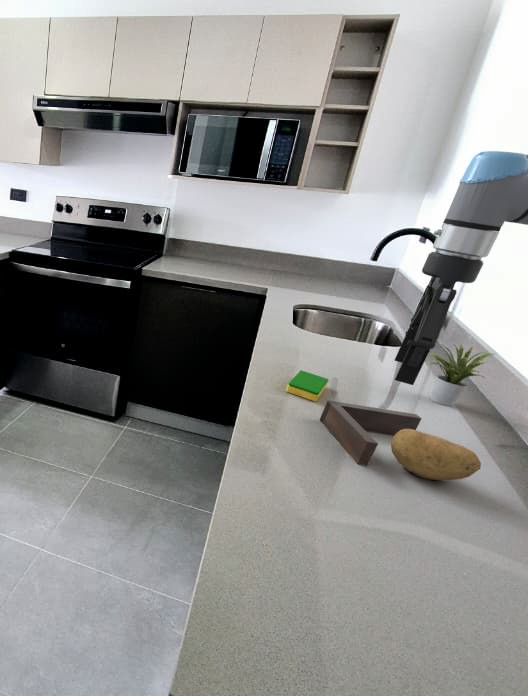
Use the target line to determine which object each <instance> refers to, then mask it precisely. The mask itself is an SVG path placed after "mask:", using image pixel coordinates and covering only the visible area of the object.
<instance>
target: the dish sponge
mask: <svg viewBox="0 0 528 696" xmlns="http://www.w3.org/2000/svg"><path fill="white" fill-rule="evenodd" d="M329 381H330V380H329V378H327V377H324V376H320V375H317V374H314V373H311V372H307V371H305V370H302V369H301V370H299V371H298V372H297V373H296V375H295V376H294V377H293V378H291V380H290V381H289V382H288V384H287V387H286V389H285V392H287V393H289V394H292V395H295V396H298V397H300V398H304V399H306V400H309V401H312V402H317V400H318V399H319V398H320V396H321V395H322V394H323V392H324V391H325V389H326V387H327V385H328V383H329Z"/></svg>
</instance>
